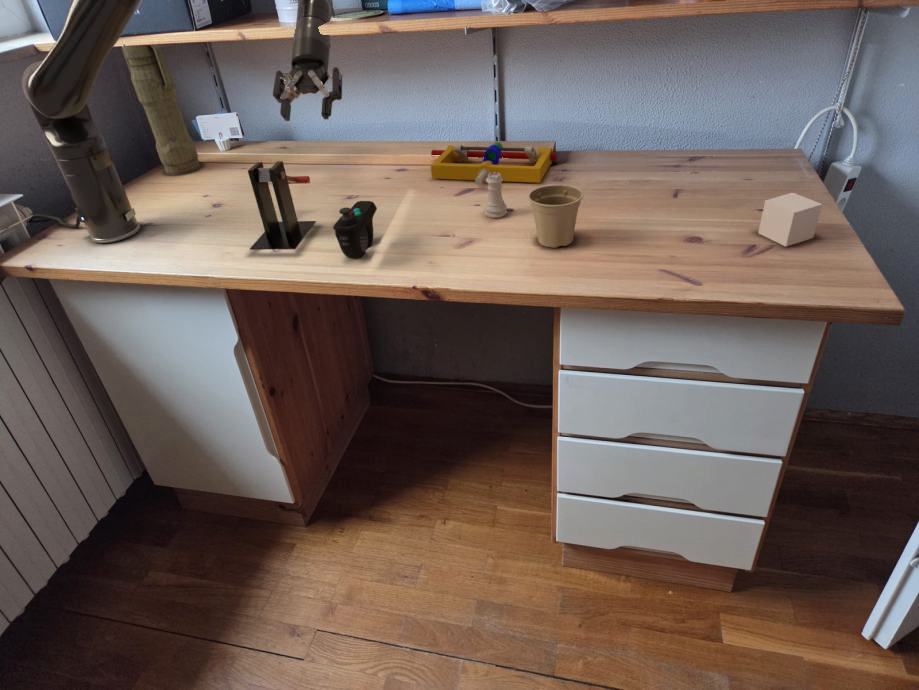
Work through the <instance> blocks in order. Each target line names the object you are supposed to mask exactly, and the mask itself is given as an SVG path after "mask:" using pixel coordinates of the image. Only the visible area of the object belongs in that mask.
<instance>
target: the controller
mask: <svg viewBox="0 0 919 690" xmlns="http://www.w3.org/2000/svg"><path fill="white" fill-rule="evenodd" d="M377 209H378V207H377V206H376V204H375V202H374V201H371V200H359V201H356V202H355V203H354V204H353V206H351V207H341V208H340V209H339V211H338V212H339V214H340V215H341V216H340V217H338V218H339V219H337V221H336V222H335V223H334V225H333V227H332V229H333V230H334V235H335V238H336V240H337V242H338V245H339V248H340V250H341V252H342V254H343V255H344V256H345V257H347V258H348V259H360V258H363V257H364V256H366V252H367V250H368V249H370V248H371V247H372V246H373V242H374V225H373V224H374V222H373V220H374V217H375V214H376V212H377Z"/></svg>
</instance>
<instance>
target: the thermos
mask: <svg viewBox="0 0 919 690" xmlns="http://www.w3.org/2000/svg"><path fill="white" fill-rule="evenodd" d="M120 49H121V52H122V55H123V57H124V60H125V63H126V66H127V69H128V71H129V74H130V80H131V83H132V85H133V87H134V90H135V93H136V97H137V99H138V102H139V103H140V104H141V105H142V107H143V109H144V112H145V115H146V117H147V120H148V123H149V126H150V129H151V131H152V134H153V137H154V140H155V150H156V151H157V154H158V157H159V160H160V162H161V164H162V165H163V168H164V172H165V173H166V174H167V175H168V176H180V175H181V176H182V175H186V174H191V173H192V172H195V171H197V170H199V169H200V168H201V163H200V161H199V158H198V157H199V155H198V152H197V147H196V146H195V143H194V140H193V138H192V137H191V135H190V134H189V131H188V128H187V125H186V122H185V120H184V117H183V113H182V110H181V107H180V105H179V102H178V101H179V100H178V92H177V89H176V86H175V83H174V80H173V76H172V74H171V71H170V69H169V65H168V62H167V60H166V56H165V53H164V50H163V47H162V46H161V44H160V43H159V44H157V45H142V46H126V47H120Z"/></svg>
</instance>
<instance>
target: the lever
mask: <svg viewBox="0 0 919 690" xmlns="http://www.w3.org/2000/svg"><path fill="white" fill-rule="evenodd" d="M270 168H271V167H264V168H258V171H259V182H263V183H268V184H272V181H271V177H270V173H269V169H270ZM286 176H287V180H288V184H289V185H298V184H299V185H300V184H302V185H303V184H310V183H311V178H310V176H309V175H298V176H297V175H295V176H294V175H293V176H292V175H287V174H286Z"/></svg>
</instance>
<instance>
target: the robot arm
mask: <svg viewBox="0 0 919 690" xmlns="http://www.w3.org/2000/svg"><path fill="white" fill-rule="evenodd" d="M142 2H143V0H70V4H69V7H68V11H67V14H66V18H65V21H64V24H63V27H62V29H61V32H60V34H59V36H58V38H57V39H56V42H55V43H54V44H53V46H52V47H51V49H50V50H49V51H48V53H47V54H46V56H45V57H44V59H42V60H39V61H36V62H33V63H31V64H29V66H28V67H27V68H25V70H24V72H23V74H22V76H21V87H22V91H23V93H24V95H25V99H26V101H27V103H28V105H29V107H30V110H31V112H32V113H33V116H34V118H35V120H36V122H37V123H38V126H39V129H40V130H41V133H42V134H43V135H42V136H43V137H44V139H45V141H46V143H47V145H48V148H49V149H50V151H51V153H52V155H53V157H54V158H55V160H56V164H57V166H58V169H60V172H61V175H62V176H63V179H64V181H65V182H66V185H67V187H68V189H69V191H70V196H71V199H72V201H73V202H74V205H75V206H76V207H75V208H74V211H75V213H76V215H77V216H76V219H75V224H70V223H68V222H64V220H63V219H62V218H61V217H57V216H53V215H49V214H41V213H36V214H32V215H33V217H32V218H31V219H30V220H29V222H28V223H31V222H32V220H34V219H38V218H39V219H46V220H52V221H57V222H58V223H59V224H60V225H61V226H64V227H65V228H69V229H78V228H79V227H80V225H81V223H83V224H84V226H85V229H86V231H87V232H88V234H89V237H90V238H91V241H93V242H94V243H98V244H108V243H115V242H120V241H123V240H125V239H128V238H131V237H132V236H134V235H136V234H137V233H138V232H139V231H140V230H141V225H140V223H139V221H138V220H137V217H136V215H137V213H136V210H135V208H134V207H132V204H131V202H130V199H129V198H128V195H127V192H126V190H125V188H124V185H123V182H122V180H121V178H120V175H119V173H118V171H117V169H116V165H115V164H114V161H113V158H112V157H111V153H110V152H109V149H108V147H107V144H106V141H105V139H104V137H103V134H102V132H101V130H100V128H99V127H98V125H97V123H96V121H95V119H94V116H93V114H92V112H91V109H90V107H89V104H88V103H87V102H88V99H89V96H90V95H91V92H92V89H93V86H94V84H95V81H96V79H97V76H98V75H99V72H100V70H101V68H102V66H103V64H104V62H105V61H106V58H107V57H108V56H109V54H110V52H111V51H112V50H113V48H114V47H115V45H116V44H117V43H118V41H119V40H120V39H119V38H120V36H121V35H122V33H123V32H124V30H125V28H126V27H127V25H128V24H129V22H130V20H131V19H132V17H135V14H136V12H137V11H138V8H139V7H140V5H141V4H142ZM296 12H297V13H296V20H295V22H296V23H295V27H296V29H295V28H294V31H295V33H294V32H293V39H292V40H293V41H292V51H291V60H290V61H291V62H290V63H291V69H290V71H289V72H282V71H281V70H280V69H279V70H277V71H276V72H275V75H274V76H275V77H274V84H273V90H272V97H273V98H274V99H275V100H276V101H277V103H278V104H280V112H279V114H280V116H281V117H282V118H283V120H284V121H285V122H290V121H291V111H292V105H291V104H292V103H293V102H294V101H295V99H298V98H299V97H300V96H301V95H307V94H312V95H313V94H317V93H319V92H320V93H321V94H322V95H323V97H322V101H321V116H322V118H323V120H329V119H330V118H329V117H331V116H332V110H333V103H334V102H335V101H341V100H342V99H343V74H342V72H341V71H340V69H339V68H338V67H337V66H335V67H333V68H332V70H331V69H330V70H329V63H330V51H331V50H330V49H331V34H330V35H322V34H320V32H319V29H318V27H319V26H321V25H323V24H325V23H327V22H329V21H330V20H331V21H332V8H331V5H330V3H329V1H328V0H298V5H297V11H296ZM329 80H331V82H332V83H331V84H332V85H331V87H332V88H331V91H328V89H327V88H326V86H325V85H326V83H327V82H328V81H329ZM289 81H290V82H289ZM295 88H296V89H295ZM294 89H295V90H294Z"/></svg>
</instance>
